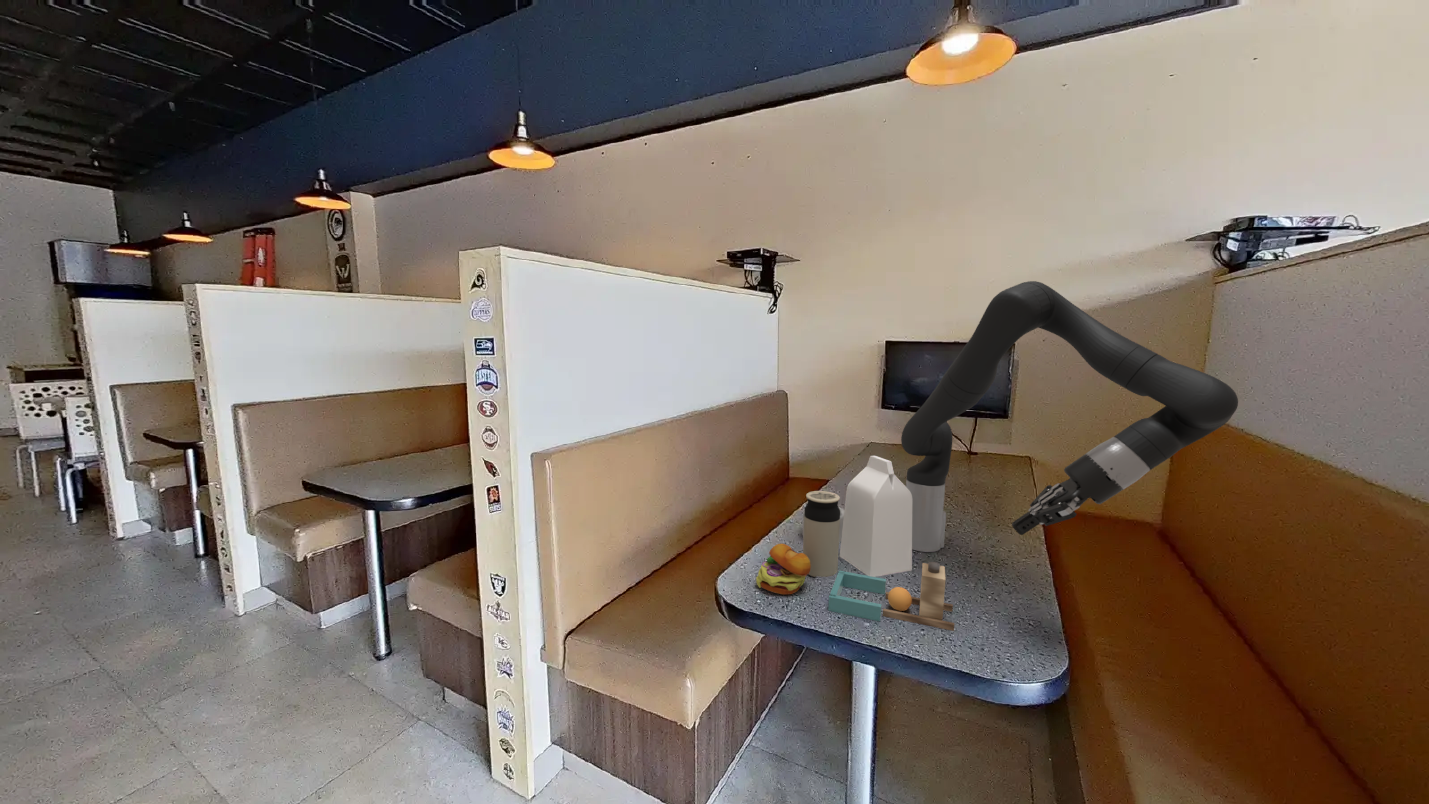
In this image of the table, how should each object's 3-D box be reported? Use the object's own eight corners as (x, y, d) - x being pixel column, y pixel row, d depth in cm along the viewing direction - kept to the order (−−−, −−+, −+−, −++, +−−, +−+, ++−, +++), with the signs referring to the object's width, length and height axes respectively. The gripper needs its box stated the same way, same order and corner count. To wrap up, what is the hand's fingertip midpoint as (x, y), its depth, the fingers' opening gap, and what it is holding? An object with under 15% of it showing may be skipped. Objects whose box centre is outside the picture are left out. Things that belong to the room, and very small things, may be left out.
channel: (952, 610, 102) (952, 604, 102) (954, 631, 95) (954, 625, 95) (885, 597, 107) (886, 591, 107) (882, 616, 100) (882, 610, 99)
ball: (901, 602, 105) (902, 581, 104) (915, 613, 101) (917, 592, 100) (882, 605, 104) (884, 584, 103) (896, 616, 99) (898, 595, 99)
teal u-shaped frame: (885, 594, 109) (886, 579, 109) (880, 624, 98) (881, 607, 97) (838, 585, 113) (839, 570, 112) (828, 613, 101) (828, 596, 101)
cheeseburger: (750, 575, 117) (762, 533, 116) (795, 584, 118) (807, 543, 117) (758, 597, 107) (771, 551, 106) (807, 607, 108) (820, 562, 107)
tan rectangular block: (941, 610, 102) (945, 559, 101) (942, 625, 96) (946, 572, 95) (919, 605, 103) (923, 556, 102) (919, 620, 98) (922, 568, 97)
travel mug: (840, 579, 116) (844, 501, 113) (805, 578, 116) (808, 500, 113) (833, 563, 124) (836, 490, 121) (799, 563, 124) (802, 490, 121)
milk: (839, 558, 126) (844, 454, 123) (878, 552, 130) (884, 451, 127) (869, 580, 115) (876, 466, 112) (911, 573, 119) (919, 463, 116)
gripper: (1078, 445, 93) (995, 502, 99) (1100, 461, 81) (1004, 525, 87) (1110, 478, 92) (1025, 533, 98) (1138, 498, 80) (1038, 560, 86)
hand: (1015, 529), depth 93 cm, fingers closed
